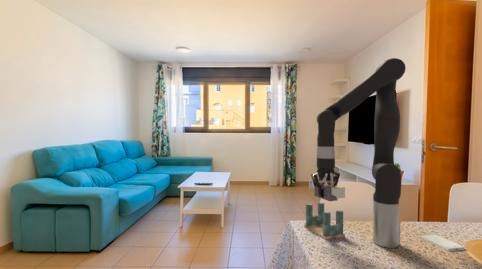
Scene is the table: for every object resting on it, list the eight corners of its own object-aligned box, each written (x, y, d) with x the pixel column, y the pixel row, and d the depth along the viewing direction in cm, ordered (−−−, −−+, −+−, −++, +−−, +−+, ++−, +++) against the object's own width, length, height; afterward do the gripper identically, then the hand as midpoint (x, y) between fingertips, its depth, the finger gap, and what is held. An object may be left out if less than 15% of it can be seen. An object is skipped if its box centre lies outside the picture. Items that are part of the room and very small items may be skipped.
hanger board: (321, 224, 126) (321, 202, 126) (344, 236, 111) (344, 211, 111) (304, 226, 123) (304, 203, 123) (325, 239, 108) (326, 213, 108)
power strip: (315, 192, 119) (315, 179, 119) (345, 203, 101) (345, 187, 101) (308, 193, 117) (308, 180, 117) (337, 204, 100) (337, 188, 100)
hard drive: (420, 235, 110) (448, 248, 98) (436, 234, 111) (465, 246, 99) (420, 239, 110) (448, 252, 98) (436, 238, 111) (465, 250, 99)
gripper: (317, 158, 103) (317, 200, 103) (345, 157, 108) (345, 197, 108) (306, 156, 110) (306, 196, 110) (332, 155, 115) (332, 193, 115)
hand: (325, 196), depth 109 cm, fingers closed on power strip, 4 cm apart
